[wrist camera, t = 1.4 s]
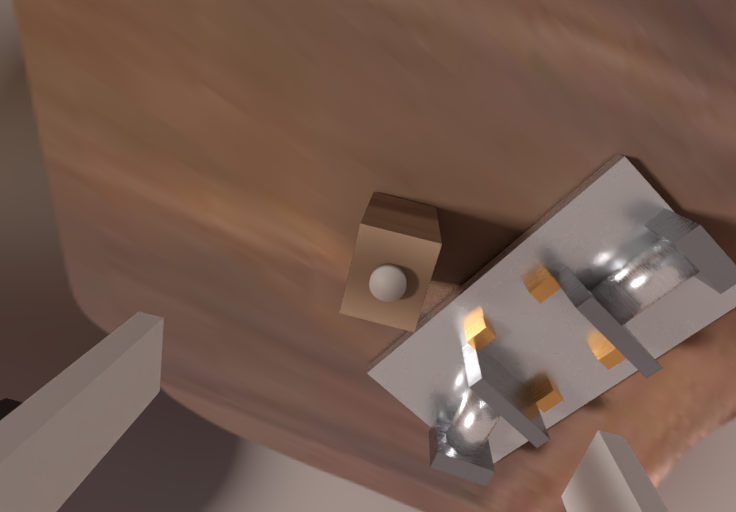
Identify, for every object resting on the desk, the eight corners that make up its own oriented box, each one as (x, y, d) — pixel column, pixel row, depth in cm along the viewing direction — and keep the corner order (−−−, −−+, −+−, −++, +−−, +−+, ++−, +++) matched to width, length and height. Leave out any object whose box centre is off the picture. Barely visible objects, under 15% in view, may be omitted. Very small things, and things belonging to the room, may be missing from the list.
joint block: (374, 191, 27) (358, 227, 20) (436, 207, 27) (442, 248, 20) (356, 263, 29) (337, 318, 22) (414, 277, 29) (414, 338, 22)
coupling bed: (616, 154, 25) (665, 169, 20) (738, 290, 27) (809, 334, 22) (368, 364, 32) (359, 414, 27) (480, 460, 34) (490, 522, 29)
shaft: (459, 370, 30) (464, 401, 27) (514, 388, 30) (524, 421, 27) (428, 432, 32) (430, 467, 29) (479, 449, 32) (486, 486, 29)
